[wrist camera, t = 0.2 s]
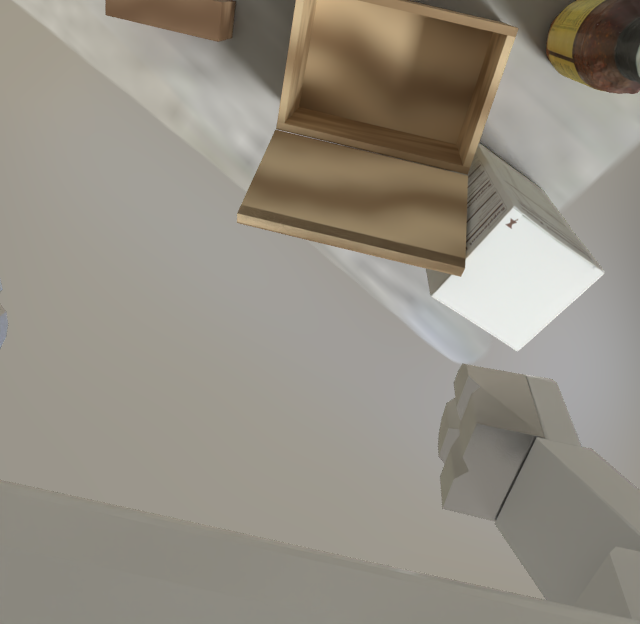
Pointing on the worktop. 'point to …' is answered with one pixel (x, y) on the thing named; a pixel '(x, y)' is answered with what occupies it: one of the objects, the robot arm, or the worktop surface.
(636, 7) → the sauce bottle
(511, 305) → the supplement box
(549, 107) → the worktop surface
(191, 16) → the walnut batten
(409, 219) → the lid
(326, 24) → the bread box
